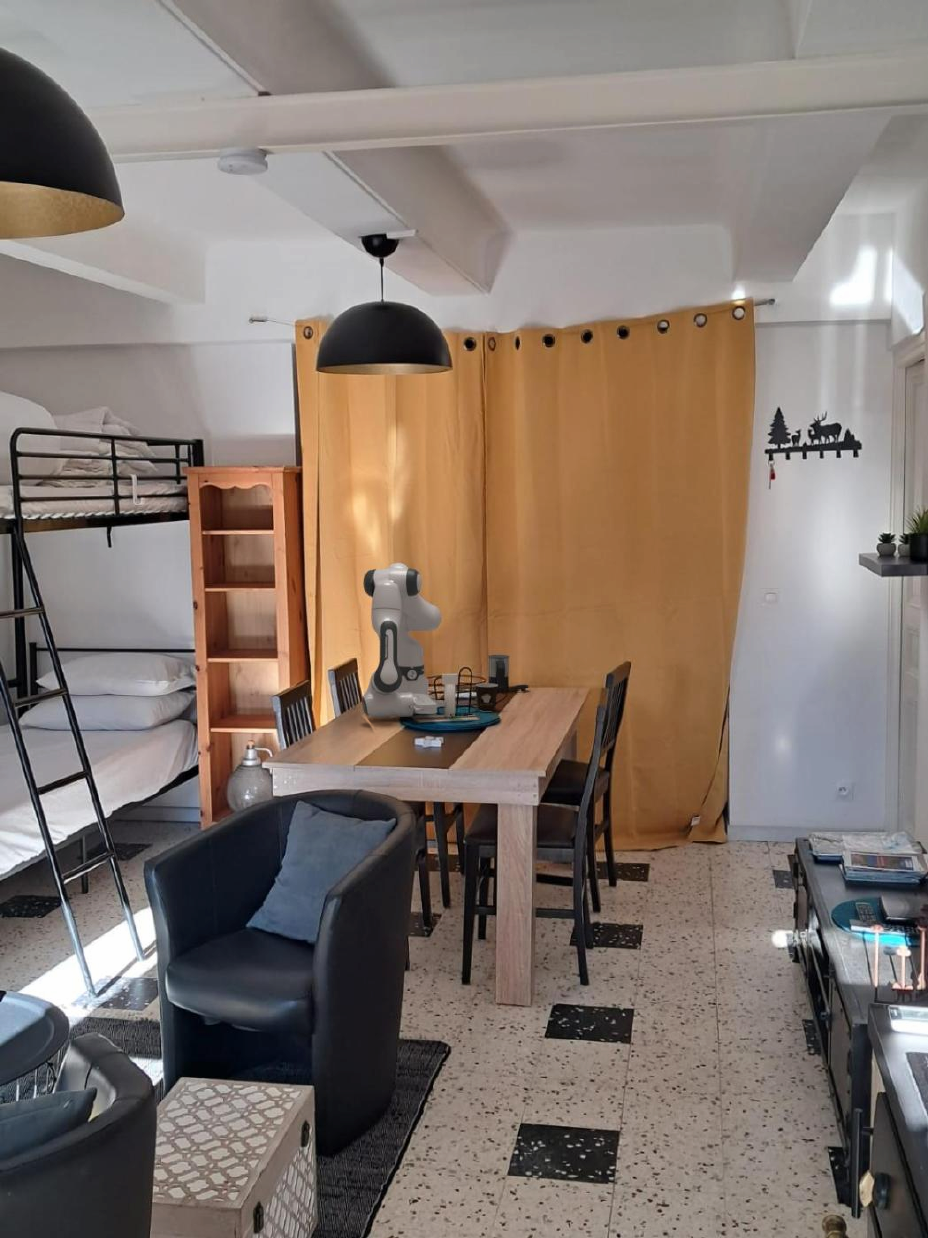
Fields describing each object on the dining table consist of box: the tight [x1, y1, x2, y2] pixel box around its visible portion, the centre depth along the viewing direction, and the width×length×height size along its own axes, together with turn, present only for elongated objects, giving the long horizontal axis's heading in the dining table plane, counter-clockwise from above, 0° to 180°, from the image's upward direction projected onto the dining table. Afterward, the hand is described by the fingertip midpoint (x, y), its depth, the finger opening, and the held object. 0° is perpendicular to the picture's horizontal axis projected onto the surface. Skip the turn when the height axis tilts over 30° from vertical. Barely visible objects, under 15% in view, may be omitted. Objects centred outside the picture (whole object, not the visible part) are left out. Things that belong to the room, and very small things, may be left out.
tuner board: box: [411, 713, 482, 723], centre depth 440 cm, size 12×24×2 cm, turn 103°
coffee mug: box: [475, 682, 508, 713], centre depth 461 cm, size 12×9×10 cm
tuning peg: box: [441, 673, 459, 717], centre depth 438 cm, size 8×6×16 cm
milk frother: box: [487, 654, 529, 693], centre depth 507 cm, size 14×16×15 cm
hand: (444, 703), depth 440 cm, fingers closed, pressing on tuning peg
